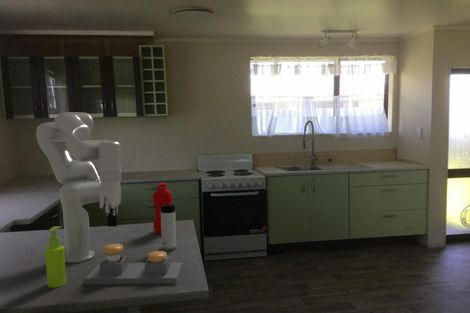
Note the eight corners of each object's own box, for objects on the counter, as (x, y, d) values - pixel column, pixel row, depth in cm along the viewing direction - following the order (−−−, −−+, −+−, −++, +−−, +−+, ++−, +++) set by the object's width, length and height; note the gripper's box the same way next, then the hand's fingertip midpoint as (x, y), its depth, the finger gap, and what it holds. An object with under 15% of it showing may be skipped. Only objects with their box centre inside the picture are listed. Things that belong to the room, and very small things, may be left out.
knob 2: (146, 273, 131) (145, 257, 130) (150, 266, 137) (150, 251, 137) (165, 273, 131) (164, 257, 130) (168, 265, 137) (168, 250, 137)
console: (84, 284, 127) (84, 267, 127) (99, 268, 141) (99, 253, 141) (176, 283, 127) (176, 266, 127) (182, 267, 141) (182, 252, 140)
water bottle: (149, 230, 188) (147, 182, 185) (170, 228, 192) (168, 181, 190) (153, 236, 179) (151, 185, 177) (175, 232, 184) (173, 183, 182)
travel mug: (162, 251, 158) (161, 206, 156) (161, 246, 164) (160, 203, 162) (177, 250, 160) (175, 205, 158) (175, 245, 166) (174, 202, 164)
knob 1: (101, 266, 130) (100, 250, 130) (107, 258, 137) (107, 244, 137) (120, 266, 130) (119, 250, 130) (125, 258, 137) (125, 243, 137)
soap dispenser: (70, 278, 132) (67, 224, 130) (61, 287, 125) (58, 230, 123) (53, 279, 132) (50, 225, 130) (44, 288, 125) (40, 231, 123)
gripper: (107, 172, 138) (109, 220, 140) (91, 179, 123) (94, 232, 125) (127, 172, 138) (129, 220, 140) (114, 179, 123) (116, 232, 125)
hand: (112, 225), depth 132 cm, fingers closed
